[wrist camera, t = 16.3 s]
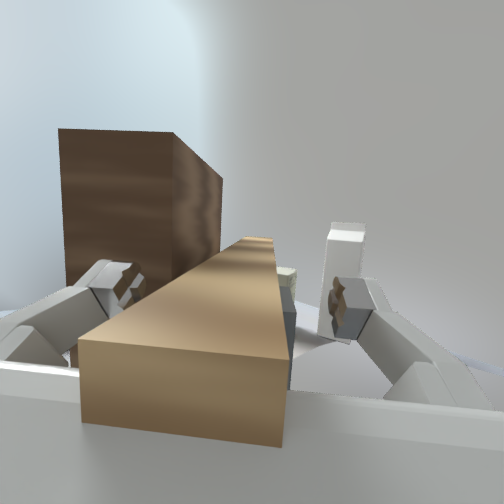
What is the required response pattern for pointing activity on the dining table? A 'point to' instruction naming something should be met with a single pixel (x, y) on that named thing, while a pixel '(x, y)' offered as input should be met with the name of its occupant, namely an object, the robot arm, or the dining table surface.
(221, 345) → the oak rod
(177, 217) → the walnut stand
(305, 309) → the dining table surface
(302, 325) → the dining table surface
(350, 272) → the milk
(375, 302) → the robot arm
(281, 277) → the skincare box
